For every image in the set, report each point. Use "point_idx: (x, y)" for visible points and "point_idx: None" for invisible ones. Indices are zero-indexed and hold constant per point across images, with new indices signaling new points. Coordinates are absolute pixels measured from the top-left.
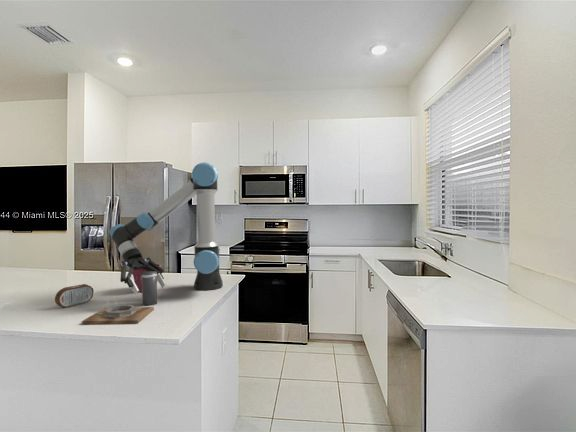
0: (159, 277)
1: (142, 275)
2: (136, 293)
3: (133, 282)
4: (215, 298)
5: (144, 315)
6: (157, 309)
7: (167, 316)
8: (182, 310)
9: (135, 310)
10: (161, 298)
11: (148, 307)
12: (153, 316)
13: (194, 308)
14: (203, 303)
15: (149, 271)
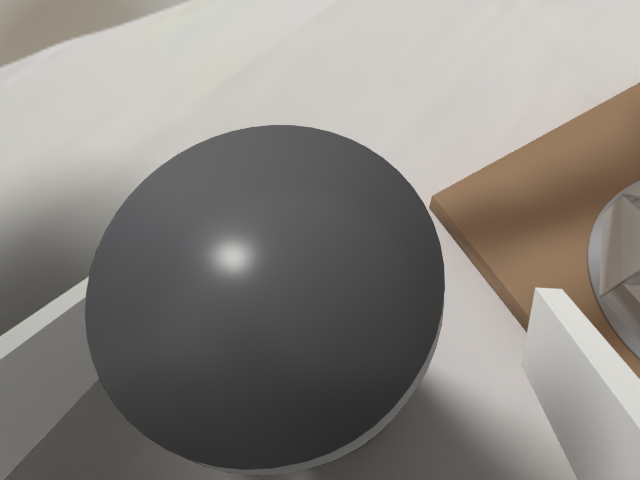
0: (32, 364)
1: (440, 328)
2: (530, 349)
3: (628, 383)
4: (37, 70)
5: (587, 113)
6: None
7: (466, 45)
8: (335, 57)
9: (607, 209)
10: (136, 434)
11: (466, 219)
12: (521, 104)
13: (271, 34)
14: (162, 57)
15: (158, 378)
